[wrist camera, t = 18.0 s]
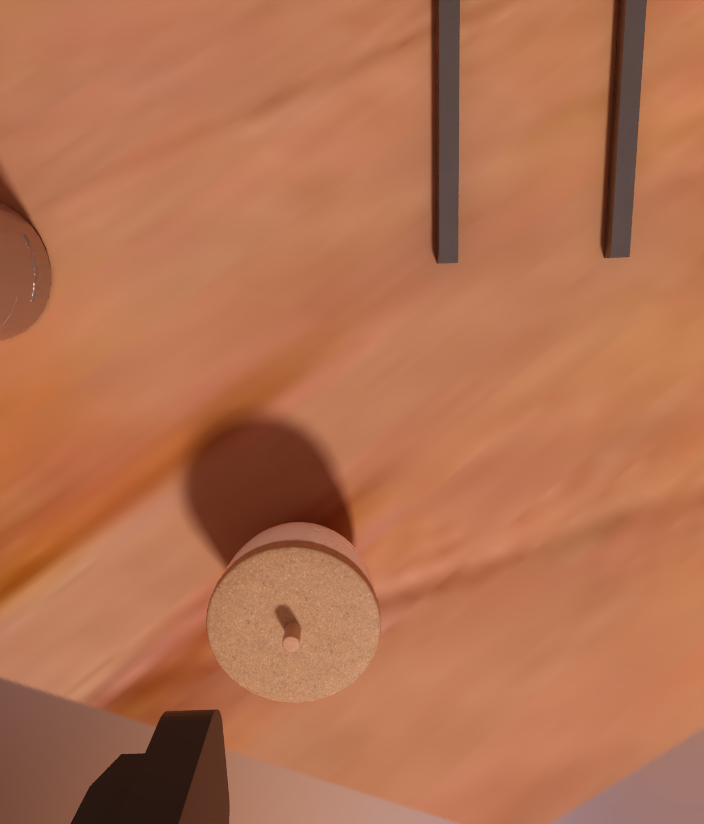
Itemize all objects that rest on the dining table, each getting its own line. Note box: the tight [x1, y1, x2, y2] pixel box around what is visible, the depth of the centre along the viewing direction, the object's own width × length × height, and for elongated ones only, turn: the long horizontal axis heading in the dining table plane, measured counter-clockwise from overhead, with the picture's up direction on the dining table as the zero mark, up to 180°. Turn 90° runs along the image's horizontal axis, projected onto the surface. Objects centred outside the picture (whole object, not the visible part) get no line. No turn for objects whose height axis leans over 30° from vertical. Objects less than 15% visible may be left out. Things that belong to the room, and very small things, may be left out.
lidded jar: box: [206, 522, 381, 703], centre depth 39 cm, size 11×11×9 cm
